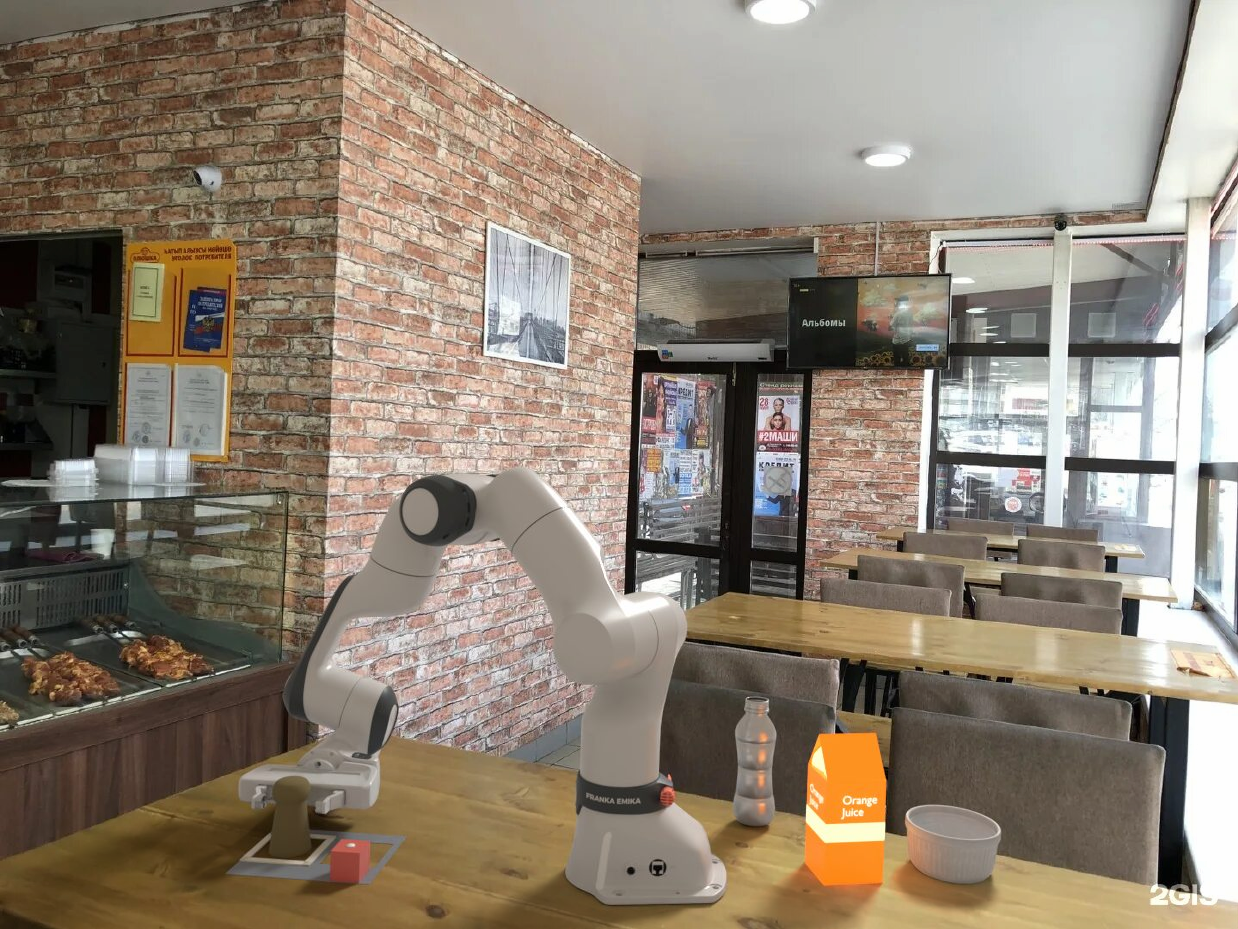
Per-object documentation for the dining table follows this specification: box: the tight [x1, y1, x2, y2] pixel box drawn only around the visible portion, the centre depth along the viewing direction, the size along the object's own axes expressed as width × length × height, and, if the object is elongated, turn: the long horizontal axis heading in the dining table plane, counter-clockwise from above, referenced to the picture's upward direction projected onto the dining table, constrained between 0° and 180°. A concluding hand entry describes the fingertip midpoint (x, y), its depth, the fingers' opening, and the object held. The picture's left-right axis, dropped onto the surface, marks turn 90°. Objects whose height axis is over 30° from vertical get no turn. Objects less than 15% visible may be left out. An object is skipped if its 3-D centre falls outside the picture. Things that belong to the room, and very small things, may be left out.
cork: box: [268, 776, 312, 859], centre depth 140 cm, size 6×6×11 cm
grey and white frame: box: [224, 829, 407, 886], centre depth 139 cm, size 20×16×1 cm
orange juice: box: [804, 732, 887, 886], centre depth 140 cm, size 8×9×20 cm
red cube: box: [329, 839, 371, 883], centre depth 132 cm, size 4×4×4 cm
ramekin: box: [904, 804, 1002, 885], centre depth 142 cm, size 13×13×7 cm
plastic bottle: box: [732, 696, 777, 827], centre depth 157 cm, size 6×7×20 cm
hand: (288, 806), depth 139 cm, fingers open, 8 cm apart
